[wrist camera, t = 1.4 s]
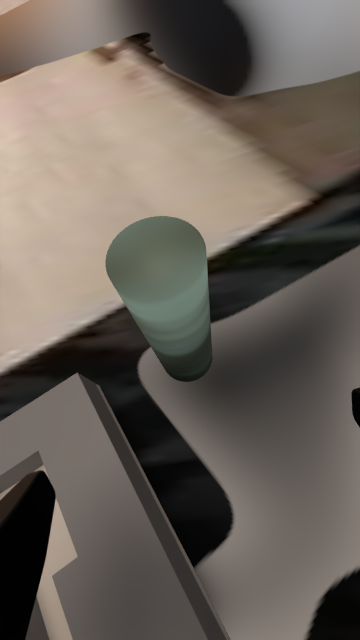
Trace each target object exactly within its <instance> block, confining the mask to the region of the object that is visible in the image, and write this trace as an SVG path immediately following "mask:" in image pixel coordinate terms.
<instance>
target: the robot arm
mask: <svg viewBox="0 0 360 640" xmlns="http://www.w3.org/2000/svg"><path fill="white" fill-rule="evenodd" d="M352 412H353V416H354V419H355V421H356V422H357V424H358V425H359V427H360V388H357V389H354V390H353V391H352ZM55 501H56V493H55V490H54V488H53V486H52V484H51V482H50V480H49V478H48V476H47V474H46V473H45V472H44V471H43V470H39V471H35V472H31V473H28V474H27V475H26V476H25V477H24V478H22V479H21V480H20V481H19V482H18V483H17V484H16V485H15V486H14V487H13V488H12V489H11V490H10V491H9V492H8V493H7V494H6V495H5V496H4V497H3V498H2V499H1V500H0V640H25V639H26V635H27V631H28V627H29V623H30V619H31V615H32V612H33V608H34V604H35V600H36V596H37V592H38V588H39V584H40V580H41V576H42V573H43V568H44V564H45V560H46V555H47V549H48V543H49V537H50V531H51V525H52V519H53V513H54V507H55Z"/></svg>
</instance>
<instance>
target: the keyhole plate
mask: <svg viewBox="0 0 360 640" xmlns="http://www.w3.org/2000/svg"><path fill="white" fill-rule="evenodd" d="M39 470H43V471H44V472H45V473H46V474H47V476H48V478H49V480H50V482H51V484H52V486H53V488H54V490H55V493H56V501H55V507H54V513H53V519H52V525H51V531H50V537H49V543H48V549H47V555H46V560H45V564H44V568H43V573H42V576H41V580H40V584H39V588H38V592H37V596H36V600H35V604H34V608H33V612H32V615H31V619H30V623H29V627H28V631H27V635H26V639H25V640H230V638H229V636H228V634H227V632H226V630H225V628H224V626H223V624H222V622H221V620H220V618H219V617H218V615H217V613H216V611H215V609H214V607H213V605H212V603H211V601H210V599H209V597H208V595H207V593H206V592H205V590H204V587H203V586H202V584H201V582H200V580H199V578H198V576H197V574H196V572H195V570H194V568H193V566H192V564H191V562H190V560H189V558H188V556H187V555H186V553H185V551H184V549H183V547H182V545H181V543H180V541H179V539H178V537H177V535H176V533H175V531H174V529H173V527H172V526H171V524H170V522H169V520H168V518H167V516H166V514H165V512H164V510H163V508H162V506H161V504H160V502H159V500H158V498H157V496H156V495H155V493H154V491H153V489H152V487H151V485H150V483H149V481H148V479H147V477H146V475H145V473H144V471H143V469H142V467H141V465H140V464H139V462H138V460H137V458H136V456H135V454H134V452H133V450H132V448H131V446H130V444H129V442H128V440H127V438H126V436H125V435H124V433H123V431H122V429H121V427H120V425H119V423H118V421H117V419H116V417H115V415H114V413H113V411H112V409H111V407H110V405H109V404H108V402H107V400H106V398H105V396H104V394H103V392H102V390H101V388H100V386H99V385H97V384H95V383H94V382H92V381H90V380H89V379H87V378H85V377H84V376H82V375H80V374H78V373H76V374H75V375H73V376H72V377H70V378H68V379H67V380H65V381H64V382H62V383H61V384H59V385H57V386H56V387H54V388H53V389H51V390H50V391H48V392H46V393H45V394H43V395H42V396H40V397H39V398H37V399H35V400H34V401H32V402H31V403H29V404H28V405H26V406H24V407H23V408H21V409H20V410H18V411H17V412H15V413H13V414H12V415H10V416H9V417H7V418H6V419H4V420H2V421H1V422H0V500H1V499H2V498H3V497H4V496H5V495H6V494H7V493H8V492H9V491H10V490H11V489H12V488H13V487H14V486H15V485H16V484H17V483H18V482H19V481H20V480H21V479H22V478H24V477H25V476H26V475H27V474H28V473H31V472H35V471H39Z"/></svg>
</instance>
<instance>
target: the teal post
mask: <svg viewBox="0 0 360 640" xmlns="http://www.w3.org/2000/svg"><path fill="white" fill-rule="evenodd" d="M106 270H107V274H108V277H109V278H110V280H111V282H112V284H113V285H114V287H115V288H116V290H117V292H118V293H119V295H120V297H121V298H122V300H123V302H124V303H125V305H126V306H127V308H128V310H129V311H130V313H131V315H132V316H133V318H134V320H135V321H136V323H137V324H138V326H139V328H140V329H141V331H142V333H143V334H144V336H145V338H146V339H147V341H148V342H149V344H150V346H151V347H152V349H153V351H154V352H155V354H156V356H157V357H158V359H159V360H160V362H161V364H162V365H163V367H164V369H165V370H166V372H167V373H168V374H169V375H170V376H171V377H172V378H174V379H176V380H179V381H183V382H190V381H194V380H197V379H199V378H201V377H202V376H203V375H205V374H206V372H207V371H208V370H209V368H210V366H211V362H212V344H211V327H210V310H209V292H208V275H207V258H206V246H205V242H204V240H203V238H202V236H201V234H200V233H199V232H198V230H197V229H196V228H195V227H193V226H192V225H191V224H189V223H188V222H186V221H184V220H181V219H178V218H174V217H168V216H157V217H150V218H146V219H142V220H140V221H137V222H135V223H133V224H131V225H130V226H128V227H126V228H125V229H124V230H123V231H121V232H120V233H119V234H118V235H117V236H116V238H115V239H114V240H113V242H112V243H111V245H110V247H109V249H108V252H107V255H106Z"/></svg>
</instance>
